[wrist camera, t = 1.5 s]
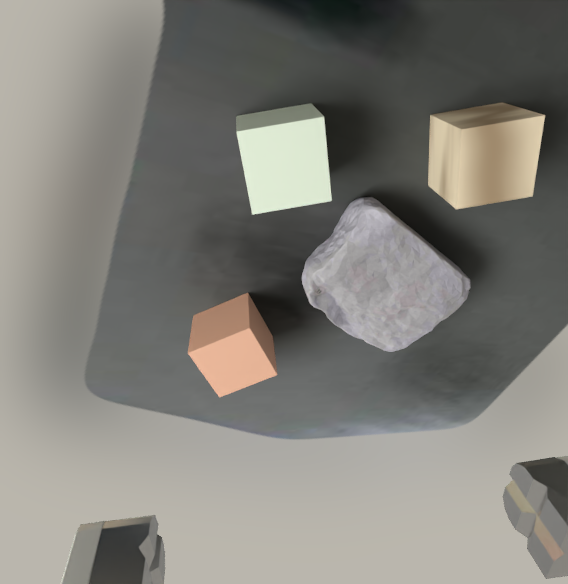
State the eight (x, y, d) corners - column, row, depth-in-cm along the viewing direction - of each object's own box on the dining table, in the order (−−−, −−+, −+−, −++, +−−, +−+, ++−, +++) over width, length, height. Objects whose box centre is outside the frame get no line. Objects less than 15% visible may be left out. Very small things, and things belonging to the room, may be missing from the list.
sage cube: (311, 103, 29) (323, 116, 25) (318, 177, 32) (331, 200, 28) (236, 115, 29) (236, 131, 25) (250, 188, 32) (252, 214, 28)
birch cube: (501, 102, 30) (545, 115, 26) (494, 173, 33) (532, 196, 29) (429, 114, 30) (461, 129, 26) (427, 185, 33) (456, 209, 29)
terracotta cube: (247, 292, 36) (249, 327, 32) (272, 336, 39) (277, 374, 35) (193, 315, 37) (187, 353, 33) (221, 357, 40) (219, 397, 35)
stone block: (383, 329, 42) (471, 262, 37) (390, 368, 38) (489, 300, 33) (283, 263, 38) (366, 177, 33) (280, 299, 34) (373, 209, 29)
